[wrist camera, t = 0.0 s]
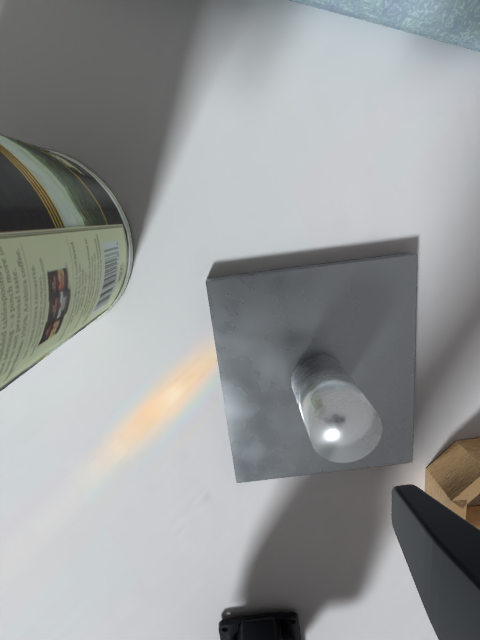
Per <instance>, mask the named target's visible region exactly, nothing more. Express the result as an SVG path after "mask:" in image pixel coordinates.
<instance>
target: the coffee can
mask: <svg viewBox="0 0 480 640" xmlns="http://www.w3.org/2000/svg"><path fill="white" fill-rule="evenodd" d="M132 263H133V244H132V237H131V232H130V227H129V224H128V221H127V219H126V217H125V214H124V212H123V210H122V208H121V206H120V204H119V202H118V201H117V199H116V197H115V196H114V195H113V193H112V192H111V190H110V189H109V188H108V187H107V186H106V185H105V183H104V182H103V181H102V180H101V179H100V178H99V177H98V176H97V175H95V174H94V173H93V172H92V171H91V170H89V169H88V168H87V167H86V166H84V165H83V164H81V163H79V162H78V161H76V160H74V159H72V158H70V157H68V156H66V155H63V154H61V153H58V152H55V151H51V150H48V149H42V148H39V147H36V146H34V145H31V144H27V143H23V142H20V141H18V140H15V139H12V138H9V137H6V136H3V135H0V391H1V390H3V389H4V388H6V387H7V386H8V385H9V384H11V383H12V382H13V381H14V380H16V379H17V378H18V377H20V376H21V375H23V374H24V373H25V372H27V371H28V370H29V369H31V368H32V367H33V366H35V365H36V364H37V363H38V362H40V361H41V360H42V359H44V358H45V357H46V356H48V355H49V354H51V353H52V352H53V351H54V350H56V349H57V348H58V347H60V346H61V345H62V344H63V343H65V342H66V341H67V340H69V339H70V338H72V337H73V336H74V335H76V334H77V333H78V332H79V331H81V330H82V329H84V328H85V327H86V326H87V325H89V324H90V323H92V322H94V321H95V320H97V319H99V318H100V317H102V316H103V315H105V314H106V313H107V312H108V311H109V310H110V309H111V308H112V307H113V306H114V305H115V304H116V303H117V302H118V300H119V299H120V297H121V296H122V294H123V293H124V290H125V288H126V286H127V283H128V281H129V278H130V273H131V269H132Z"/></svg>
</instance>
